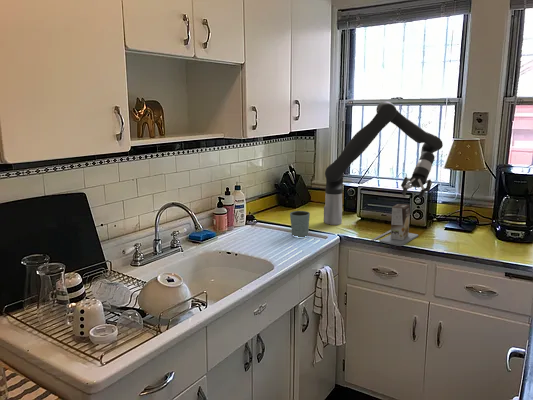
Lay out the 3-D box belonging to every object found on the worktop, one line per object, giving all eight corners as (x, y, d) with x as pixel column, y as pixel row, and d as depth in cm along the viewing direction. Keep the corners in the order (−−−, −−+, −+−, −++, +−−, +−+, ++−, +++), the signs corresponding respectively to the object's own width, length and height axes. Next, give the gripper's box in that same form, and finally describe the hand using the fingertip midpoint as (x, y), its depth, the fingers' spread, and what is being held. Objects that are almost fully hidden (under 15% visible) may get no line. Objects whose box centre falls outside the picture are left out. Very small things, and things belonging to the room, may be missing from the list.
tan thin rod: (370, 240, 223) (370, 239, 223) (390, 230, 239) (390, 229, 239) (373, 241, 222) (373, 240, 222) (393, 230, 238) (393, 230, 238)
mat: (379, 241, 221) (379, 240, 220) (397, 232, 235) (397, 230, 235) (400, 246, 214) (400, 244, 213) (418, 236, 228) (418, 234, 228)
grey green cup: (295, 239, 227) (295, 216, 224) (286, 234, 236) (286, 211, 233) (313, 236, 231) (313, 214, 228) (304, 231, 240) (304, 209, 237)
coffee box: (403, 240, 219) (404, 208, 215) (390, 238, 222) (391, 207, 219) (408, 235, 226) (410, 204, 223) (396, 233, 230) (397, 203, 226)
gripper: (407, 164, 236) (396, 190, 230) (434, 167, 226) (423, 193, 221) (410, 173, 241) (400, 198, 235) (437, 176, 231) (427, 202, 226)
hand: (411, 196), depth 228 cm, fingers open, 8 cm apart
